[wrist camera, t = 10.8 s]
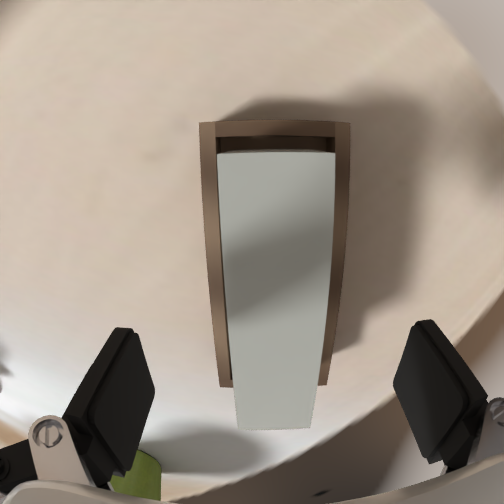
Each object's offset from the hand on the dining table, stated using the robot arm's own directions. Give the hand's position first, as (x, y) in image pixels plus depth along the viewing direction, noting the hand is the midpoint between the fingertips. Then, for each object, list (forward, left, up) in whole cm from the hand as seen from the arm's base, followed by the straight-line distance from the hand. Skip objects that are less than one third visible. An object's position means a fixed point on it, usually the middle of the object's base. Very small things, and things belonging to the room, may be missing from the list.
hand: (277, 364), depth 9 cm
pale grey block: (+1, 0, -10) cm, 10 cm away
